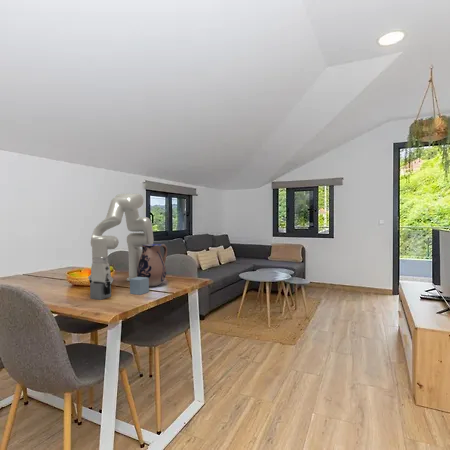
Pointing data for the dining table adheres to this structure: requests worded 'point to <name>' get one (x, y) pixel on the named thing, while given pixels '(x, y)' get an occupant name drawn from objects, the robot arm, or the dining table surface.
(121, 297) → the dining table surface
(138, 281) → the blue-gray block
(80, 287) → the dining table surface
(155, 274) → the ceramic pitcher
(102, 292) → the dark grey block
